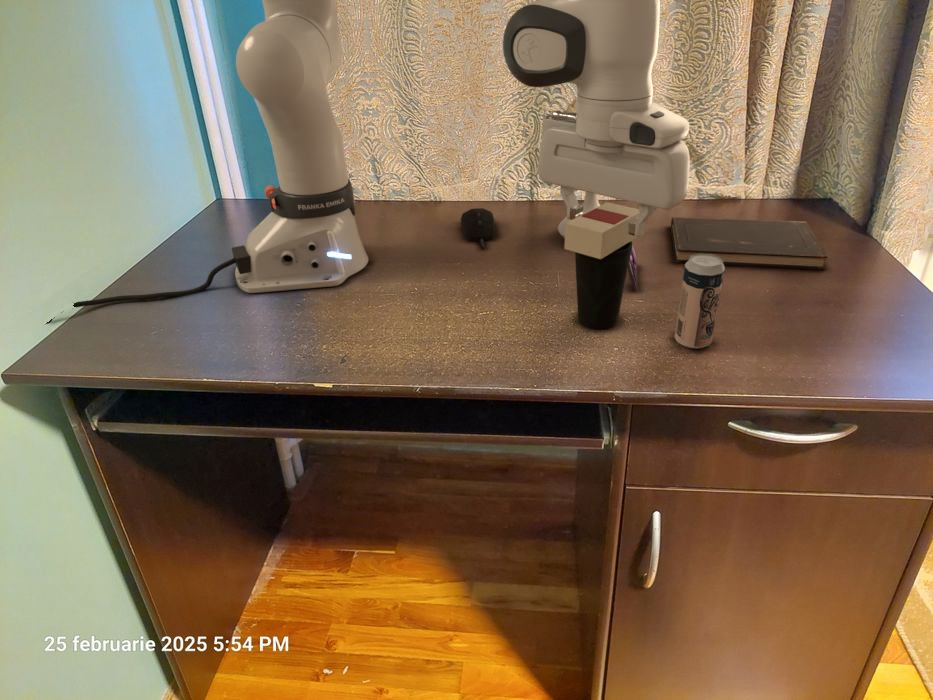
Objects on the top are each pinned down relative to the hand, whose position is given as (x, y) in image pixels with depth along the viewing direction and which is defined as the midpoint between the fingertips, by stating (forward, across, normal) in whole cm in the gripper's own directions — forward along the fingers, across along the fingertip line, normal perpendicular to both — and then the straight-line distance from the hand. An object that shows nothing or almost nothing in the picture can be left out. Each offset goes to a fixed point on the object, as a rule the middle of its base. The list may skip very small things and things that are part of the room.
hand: (604, 226), depth 88 cm
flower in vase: (+14, -18, +24) cm, 34 cm away
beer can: (+14, +13, +3) cm, 20 cm away
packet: (+2, 0, 0) cm, 2 cm away
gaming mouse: (+14, -35, +15) cm, 41 cm away
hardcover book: (+14, +5, +37) cm, 40 cm away
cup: (+14, 0, 0) cm, 14 cm away
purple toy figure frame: (+14, -4, +14) cm, 21 cm away
